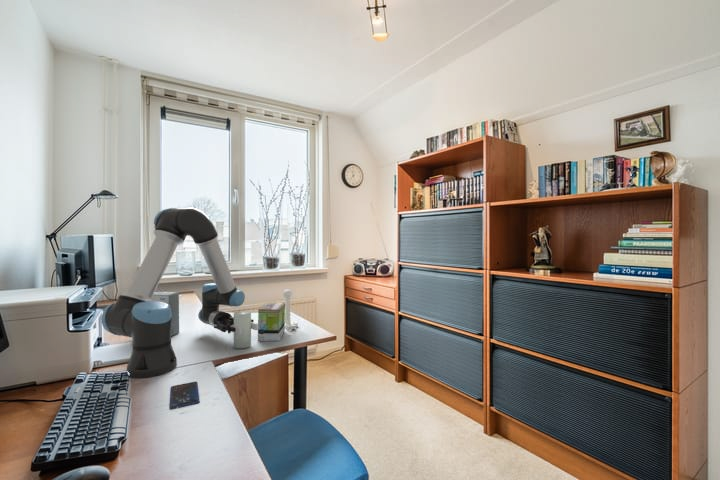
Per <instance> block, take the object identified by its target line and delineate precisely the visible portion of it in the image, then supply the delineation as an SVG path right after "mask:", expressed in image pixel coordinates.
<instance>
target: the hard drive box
mask: <svg viewBox="0 0 720 480" xmlns="http://www.w3.org/2000/svg"><path fill="white" fill-rule="evenodd" d="M151 300H152V301H154V302H156V301H158V302H164V303H166V304H168V305H169V306H170V308H171V314H172V317H171V337H173V336H174V335H177V334H179V333H180V293H179V292H178V291H177V292H175V291H155V292H154V294H153V296H152V298H151Z"/></svg>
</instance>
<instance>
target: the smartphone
mask: <svg viewBox="0 0 720 480" xmlns="http://www.w3.org/2000/svg"><path fill="white" fill-rule="evenodd" d="M169 391H170V392H169V393H170V394H169V395H170V396H169V404H168V407H169V410H175V409H177V408H178V409H180V408H185V407H189V406H194V405H198V404H200V401H201V400H200V393H199V387H198V381H192V382H185V383H181V384H177V385H171V386H170V390H169Z"/></svg>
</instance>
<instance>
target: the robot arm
mask: <svg viewBox="0 0 720 480" xmlns="http://www.w3.org/2000/svg"><path fill="white" fill-rule="evenodd" d="M153 224H154V230H153V234H154V236H155V238H154V239H153V242H151V243H152V244H151V245H150V247H149V249H148V251H147V252H146V254H145V257H144V258H143V260H142V262H141V264H140V266H139V268H138V270H137V272H136V273H135V275H134V277H133V279H132V281H131V283H130V285H129V287H128V289H127V291H125V292H124V293H121V294H119V296H118V297H117V299H116V301H115V302H112V303H110V304H109V305H108V306H106V307H105V308H104V310H103V312H102V314H101V319H100V321H101V325H102V327H103V329H104V330H106V332H108V333H110V334H112V335H115V336H117V337H118V336H120V337H127V338H132V352H131V354H130V357H129V360H128V363H127V365H126V372H127V371H128V372H129V373H130V377H129V378H134V379H141V378H152V377H156V376H160V375H163V374H165V373H168V372H171V371H172V370H174V369H176V368H177V365H178V364H177V363H178V361H177V356H176V353H175V351H174V349H173V346H172V336H171V317H172V314H171V308H170V306H169V305H168V304H166V303H164V302H158V301H156V302H154V301H152V300H151V298H152V296H153V294H154V292H156V290H157V288H158V286H159V284H160V282H161V280H162V277H163V276H164V273H165V272H166V270H167V267H168V265H169V264H170V262H171V259H172V257H173V256H174V253H175V251H176V249H177V247H178V246H180V245H182V244H184V242H185V240H186V237H187V236H188V237H191V238H192V240H193V242H194V244H195V245H197V246H199V249H200V252H201V255H202V256H203V259H204V261H205V263H206V265H207V267H208V269H209V272H210V275H211V277H212V280H213V281H214V282H213V283H212V282H211V283H205V284H203V285H202V288H201V289H202V290H201V309H200V310H199V312H198V313H197V314H198V315H197V316H198V319H199V321H200V322H202V323H203V324H206V325H210V326H212V327H213V329H216V330H219V331H221V333H226V332H227V334H231V333H233V334H234V333H237V334H242V328H241V327H238V326H235V325H234V316H232V315H231V313H229V312H226V311H223V310H220V306H227V307H240V306H242V305H243V304H244V302H245V300H246V295H245V293H244V291H243V290H240V289H238V288H237V285H236V283H235V281H234V278H233V276H232V274H231V271H230V269H229V266H228V263H227V261H226V258H225V255H224V253H223V251H222V248H221V246H220V243H219V241H218V239H217V238H218V236H219V234H218V232H217V229H216V227H215V225H214V223H213V221H211V219H210V218H209V216H208V215H207V214H205V213H204V212H203V211H202V210H200V209H198V208H194V207H182V208H181V207H180V208H178V207H171V208H164V209H162V210H161V211H159V212H157V214H156V215H155V217H154V218H153ZM254 321H255V320H254V319H252V318H251V330H254V331H258V322H257V323H256V322H254Z"/></svg>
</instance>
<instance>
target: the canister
mask: <svg viewBox="0 0 720 480" xmlns="http://www.w3.org/2000/svg"><path fill="white" fill-rule="evenodd" d="M233 317H234V325H235V326H238V327H241V328H242V334H237V333H234V332H233V348H235V349H246V348H249V347H251V346H252V329H251V319H252V312H251V311H249V310H248V311H247V310H241V311H235V312H234V313H233Z"/></svg>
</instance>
